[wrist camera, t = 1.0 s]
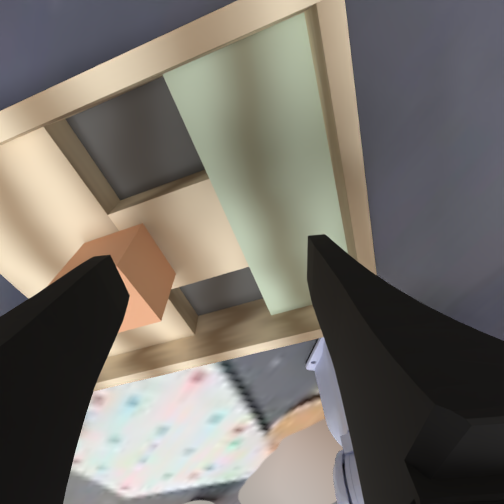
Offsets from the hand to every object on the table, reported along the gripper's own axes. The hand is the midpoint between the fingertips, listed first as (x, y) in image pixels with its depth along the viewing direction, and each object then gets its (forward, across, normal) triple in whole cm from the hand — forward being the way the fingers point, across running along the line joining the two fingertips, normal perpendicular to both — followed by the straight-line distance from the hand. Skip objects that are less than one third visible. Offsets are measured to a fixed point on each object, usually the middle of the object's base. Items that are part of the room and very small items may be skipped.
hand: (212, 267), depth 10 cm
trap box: (+10, +4, +4) cm, 12 cm away
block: (+8, +7, +5) cm, 12 cm away
